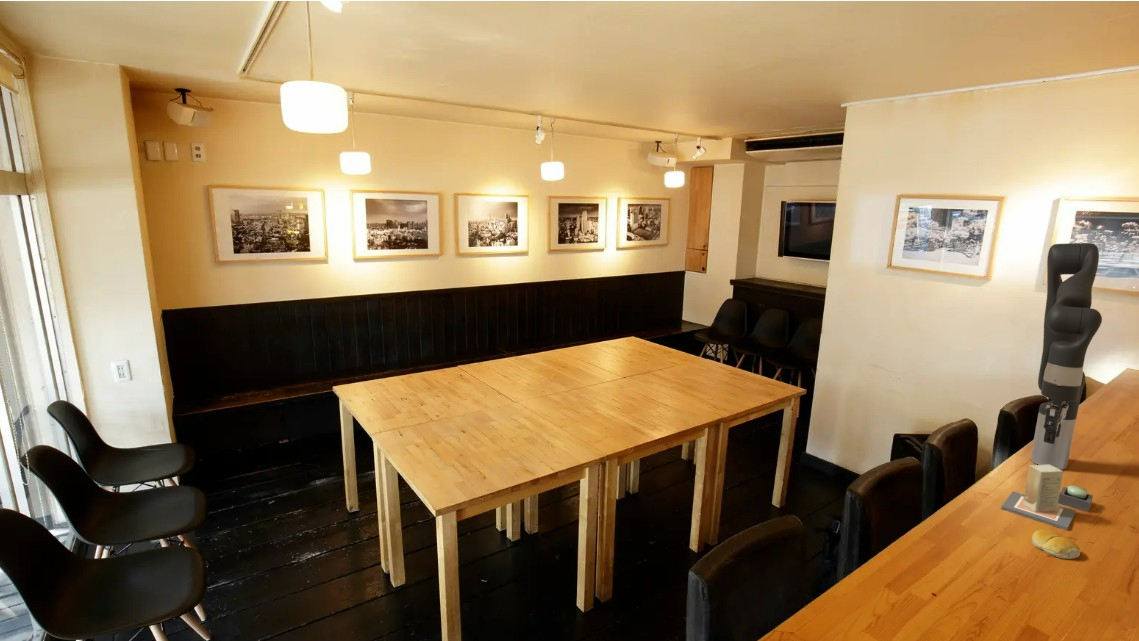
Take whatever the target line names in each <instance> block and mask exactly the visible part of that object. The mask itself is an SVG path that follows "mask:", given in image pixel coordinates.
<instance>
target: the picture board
mask: <svg viewBox="0 0 1139 641" xmlns="http://www.w3.org/2000/svg"><path fill="white" fill-rule="evenodd" d="M1024 495H1025V493H1024V494H1023V493H1020V492H1017V491H1013V490H1012V491H1011V493H1010V494H1009V496H1008V497H1007V498H1006V499H1005V501H1004V502H1003V504H1002V505H1001V506H1000V507H1001V508H1000V509H1001V510H1003V511H1006V512H1007V511H1008V512H1010V513H1013V514H1016V515H1018V516H1022V517H1024V518H1028V519H1031V520H1033V521H1037V522H1040V523H1044V524H1047V525H1049V526H1052V527H1056V528H1059V529H1061V530H1064V531H1068V529H1069V527H1070V526H1071V523H1072V521H1073V519H1074V516H1075V515H1076V513H1077V510H1075V509H1074V508H1073V509H1072V508H1071V507H1070V508H1069V507H1068V506H1064V505H1061V504H1060V505H1059V504H1058V505H1057V511H1050V512H1035V511H1033V510H1031V509H1030V508H1028V507H1027V506H1025V505H1024V504H1023V501H1024Z"/></svg>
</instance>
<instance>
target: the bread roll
mask: <svg viewBox="0 0 1139 641" xmlns="http://www.w3.org/2000/svg"><path fill="white" fill-rule="evenodd" d="M1031 542H1032V545H1034V547H1036V548H1037V549H1039V550H1042V551H1043V552H1045V553H1046V554H1048V555H1050V556H1052V557H1056V558H1059V559H1062V560H1072V559H1073V560H1074V559H1077V558H1079V557H1080V555H1081V549H1080V547H1079V546H1078V545H1077V543H1075V542H1074V541H1073V540H1071V539H1070V538H1068V537H1063V535H1061V533H1058V532H1057V531H1054V530H1052V529H1051V530H1050V529H1038V530H1035V532H1033V534H1032V535H1031Z"/></svg>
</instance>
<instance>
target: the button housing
mask: <svg viewBox="0 0 1139 641" xmlns="http://www.w3.org/2000/svg"><path fill="white" fill-rule="evenodd" d="M1067 490H1068V487H1065V486H1062V489H1061V490H1060V493H1059V499H1058V504H1060V505H1062V506H1065V507H1070V508H1073V509H1077V510H1080V511H1083V512H1085V513H1086V512H1087V513H1088V512H1089V511H1090V508H1091V506H1092V503H1093V500H1094V499H1093V498H1094V494H1090V493H1087V494H1086V498H1077V497H1074V496H1071V495H1069V494H1068V493H1067Z"/></svg>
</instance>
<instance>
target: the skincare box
mask: <svg viewBox="0 0 1139 641" xmlns="http://www.w3.org/2000/svg"><path fill="white" fill-rule="evenodd" d="M1063 474H1064V471H1063V470H1060V469H1058V468H1056V467H1054V466H1052V465H1037V464H1030V465H1028V471H1027V476H1026V483H1025V487H1024V488H1025V490H1024V501H1023V504H1024V505H1025V506H1027V507H1028V508H1030V509H1031V510H1033V511H1035V512H1050V511H1057V505H1059V503H1058V499H1059V494H1060V492H1061V486H1062V481H1063Z"/></svg>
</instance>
